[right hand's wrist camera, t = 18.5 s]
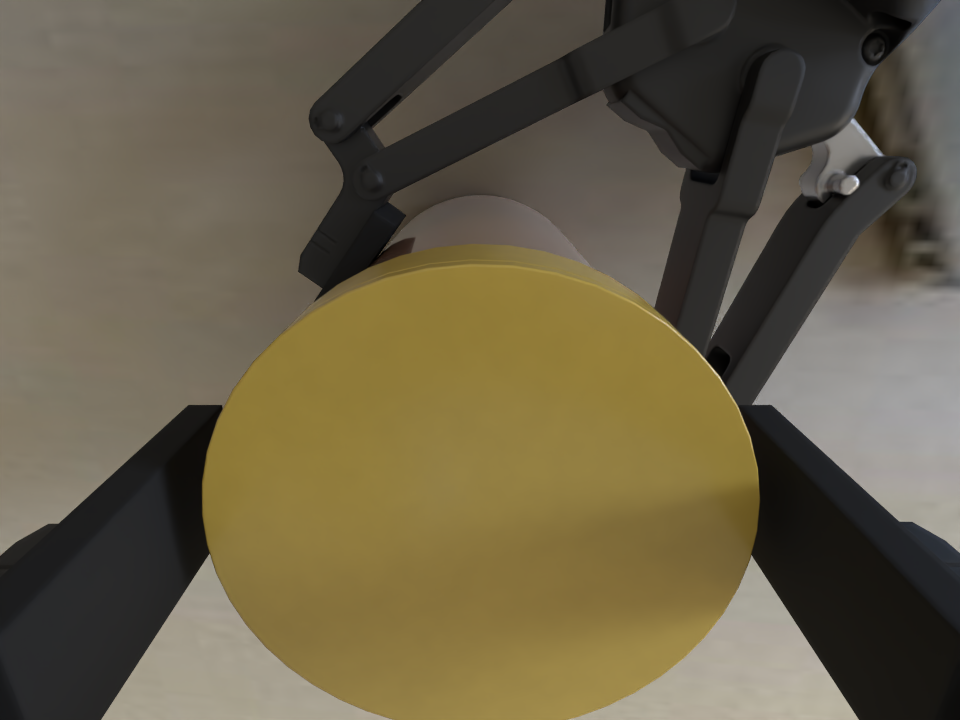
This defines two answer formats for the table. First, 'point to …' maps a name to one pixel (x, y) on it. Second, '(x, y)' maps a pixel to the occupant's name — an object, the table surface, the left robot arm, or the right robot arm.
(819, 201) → the left robot arm
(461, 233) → the jar
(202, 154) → the table surface
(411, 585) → the lid
